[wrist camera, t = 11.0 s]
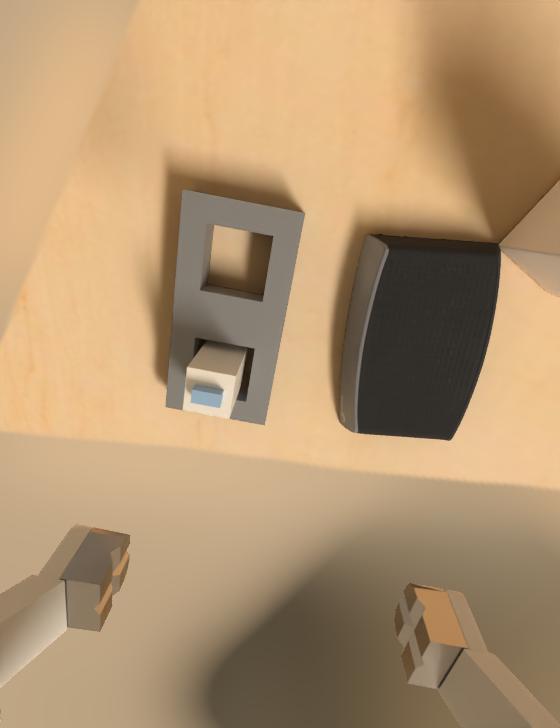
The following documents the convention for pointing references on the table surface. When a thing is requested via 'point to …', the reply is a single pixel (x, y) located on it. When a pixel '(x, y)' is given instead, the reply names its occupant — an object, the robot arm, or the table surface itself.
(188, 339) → the socket panel
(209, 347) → the plug
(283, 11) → the table surface
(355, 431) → the external hard drive
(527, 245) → the milk carton
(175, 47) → the table surface
